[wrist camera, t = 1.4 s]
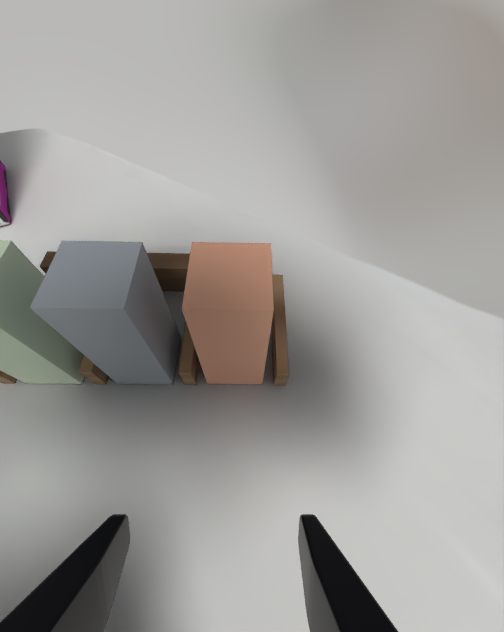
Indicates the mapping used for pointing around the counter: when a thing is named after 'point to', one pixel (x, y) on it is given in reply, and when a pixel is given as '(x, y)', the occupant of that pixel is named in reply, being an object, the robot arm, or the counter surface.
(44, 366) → the sage key
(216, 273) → the pink rectangular block
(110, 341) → the grey tall block
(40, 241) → the counter surface
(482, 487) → the counter surface
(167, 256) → the wooden slotted rack
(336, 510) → the counter surface
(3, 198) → the candy bar box
